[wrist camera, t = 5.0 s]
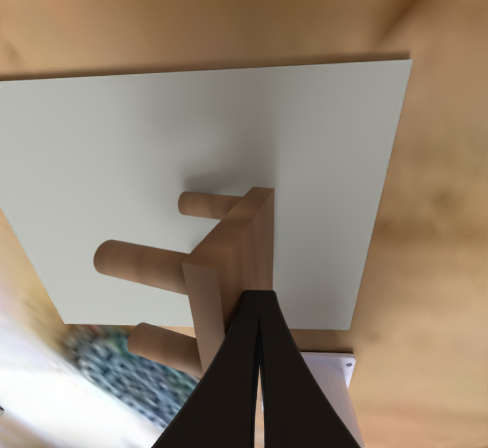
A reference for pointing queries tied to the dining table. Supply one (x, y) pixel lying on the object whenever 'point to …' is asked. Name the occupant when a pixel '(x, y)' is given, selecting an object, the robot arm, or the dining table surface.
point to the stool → (200, 274)
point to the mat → (199, 177)
